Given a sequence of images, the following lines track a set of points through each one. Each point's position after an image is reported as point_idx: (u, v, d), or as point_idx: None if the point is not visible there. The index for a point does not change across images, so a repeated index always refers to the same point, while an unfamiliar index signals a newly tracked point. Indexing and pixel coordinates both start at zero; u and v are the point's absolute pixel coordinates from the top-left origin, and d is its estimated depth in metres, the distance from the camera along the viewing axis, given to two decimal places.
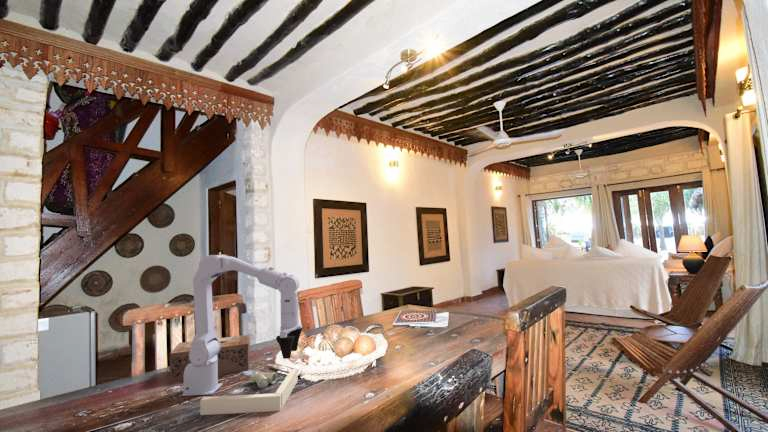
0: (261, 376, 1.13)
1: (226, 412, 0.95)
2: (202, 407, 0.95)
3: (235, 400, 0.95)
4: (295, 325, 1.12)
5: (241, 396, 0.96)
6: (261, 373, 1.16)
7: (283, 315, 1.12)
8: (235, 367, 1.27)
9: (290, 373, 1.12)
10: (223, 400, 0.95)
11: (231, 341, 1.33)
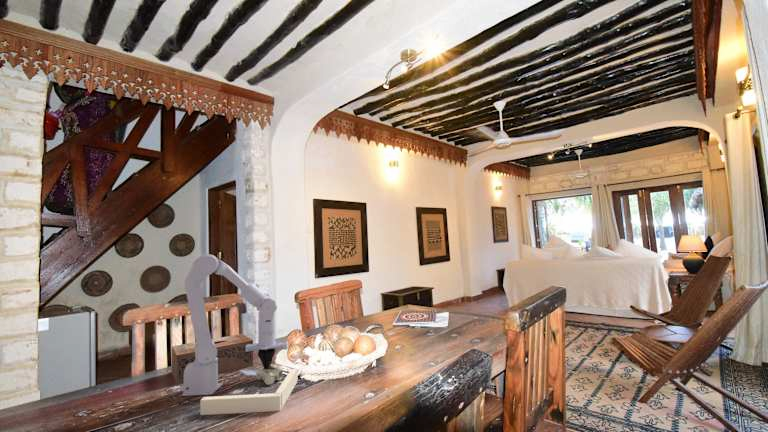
0: (268, 373, 1.16)
1: (226, 412, 0.95)
2: (202, 407, 0.95)
3: (235, 400, 0.95)
4: (260, 345, 1.20)
5: (241, 396, 0.96)
6: (267, 370, 1.18)
7: None
8: (241, 364, 1.31)
9: (290, 373, 1.12)
10: (223, 400, 0.95)
11: (231, 340, 1.35)
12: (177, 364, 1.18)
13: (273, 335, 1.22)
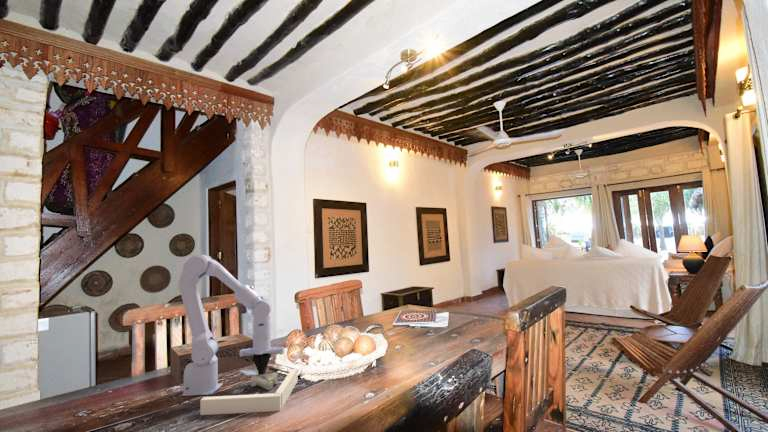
0: (265, 377, 1.11)
1: (226, 412, 0.95)
2: (202, 407, 0.95)
3: (235, 400, 0.95)
4: (254, 349, 1.15)
5: (241, 396, 0.96)
6: (263, 375, 1.13)
7: None
8: (242, 363, 1.32)
9: (290, 373, 1.12)
10: (223, 400, 0.95)
11: (231, 339, 1.36)
12: (179, 364, 1.18)
13: (268, 339, 1.16)
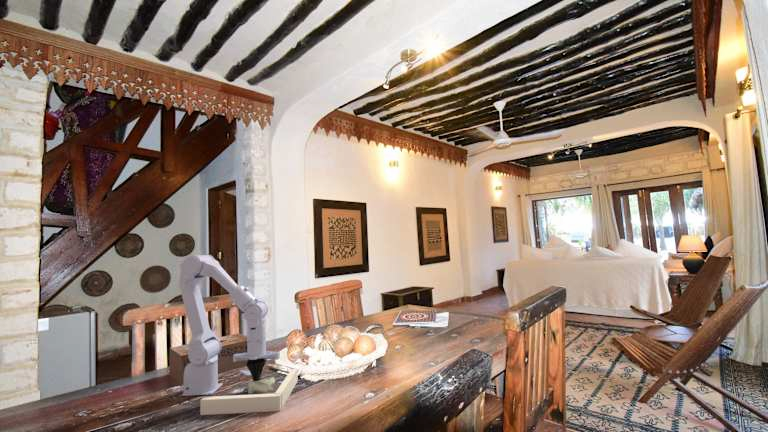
0: (265, 383, 1.07)
1: (226, 412, 0.95)
2: (202, 407, 0.95)
3: (235, 400, 0.95)
4: (249, 354, 1.10)
5: (241, 396, 0.96)
6: (260, 381, 1.08)
7: None
8: (242, 362, 1.32)
9: (290, 373, 1.12)
10: (223, 400, 0.95)
11: (231, 339, 1.36)
12: (182, 364, 1.18)
13: (263, 344, 1.11)
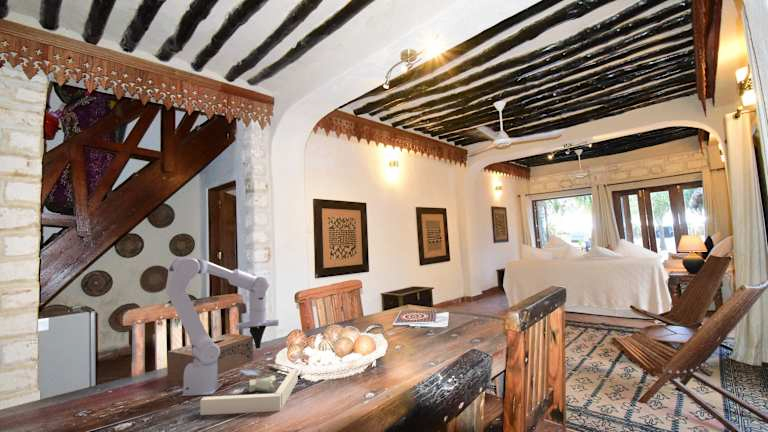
0: (266, 381, 1.09)
1: (226, 412, 0.95)
2: (202, 407, 0.95)
3: (235, 400, 0.95)
4: (252, 322, 1.23)
5: (241, 396, 0.96)
6: (261, 379, 1.10)
7: None
8: (244, 359, 1.36)
9: (290, 373, 1.12)
10: (223, 400, 0.95)
11: (228, 338, 1.38)
12: None
13: (265, 312, 1.25)
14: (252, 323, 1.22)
